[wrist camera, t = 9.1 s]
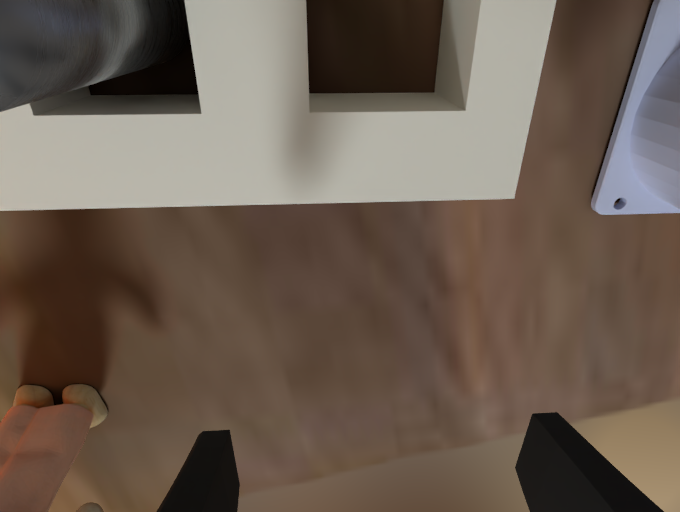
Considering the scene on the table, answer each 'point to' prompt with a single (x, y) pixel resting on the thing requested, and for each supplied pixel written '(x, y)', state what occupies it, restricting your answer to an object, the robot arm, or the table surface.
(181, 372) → the table surface
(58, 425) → the grandmother figurine
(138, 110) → the hole block
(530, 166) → the table surface
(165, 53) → the peg
